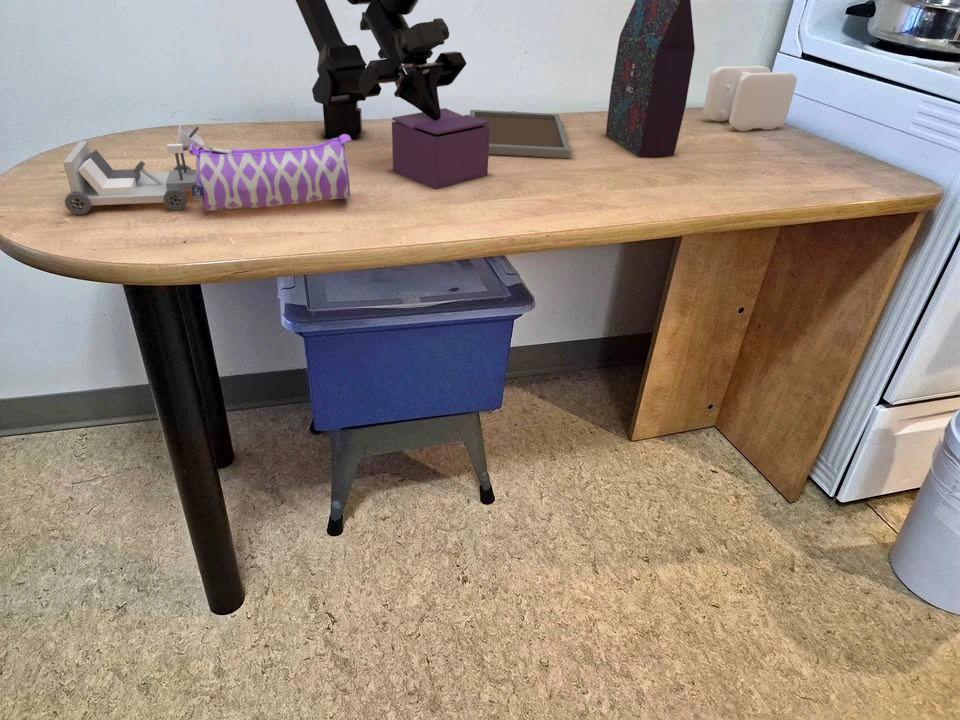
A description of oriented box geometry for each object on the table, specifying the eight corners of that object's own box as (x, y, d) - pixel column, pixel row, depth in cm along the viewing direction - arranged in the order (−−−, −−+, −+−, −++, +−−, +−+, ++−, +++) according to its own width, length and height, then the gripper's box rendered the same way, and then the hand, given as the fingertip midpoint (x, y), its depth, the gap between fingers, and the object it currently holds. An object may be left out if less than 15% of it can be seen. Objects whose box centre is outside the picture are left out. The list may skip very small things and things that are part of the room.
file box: (392, 171, 115) (391, 117, 110) (444, 159, 122) (445, 107, 117) (435, 188, 109) (436, 132, 104) (487, 175, 115) (490, 121, 111)
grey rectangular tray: (465, 144, 124) (470, 106, 150) (465, 153, 125) (470, 114, 150) (570, 149, 124) (558, 110, 150) (569, 158, 125) (557, 118, 151)
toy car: (202, 117, 101) (196, 139, 92) (213, 182, 107) (208, 209, 97) (67, 119, 97) (46, 142, 88) (86, 187, 102) (68, 215, 93)
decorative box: (638, 133, 143) (664, -20, 128) (678, 156, 130) (711, -11, 115) (602, 134, 141) (624, -21, 126) (638, 158, 128) (668, -13, 112)
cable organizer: (727, 132, 147) (741, 74, 140) (699, 120, 155) (710, 65, 149) (784, 129, 151) (800, 73, 145) (753, 117, 159) (767, 64, 153)
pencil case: (197, 222, 93) (184, 152, 88) (195, 199, 100) (183, 133, 95) (358, 208, 100) (355, 142, 95) (346, 187, 107) (342, 125, 102)
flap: (392, 119, 110) (392, 117, 110) (445, 110, 117) (445, 108, 117) (413, 129, 108) (413, 127, 107) (466, 119, 114) (466, 117, 114)
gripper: (365, 1, 100) (415, 94, 99) (460, -3, 111) (505, 80, 110) (338, 52, 108) (383, 138, 108) (428, 44, 120) (470, 121, 119)
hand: (437, 118), depth 111 cm, fingers closed, pressing on flap
